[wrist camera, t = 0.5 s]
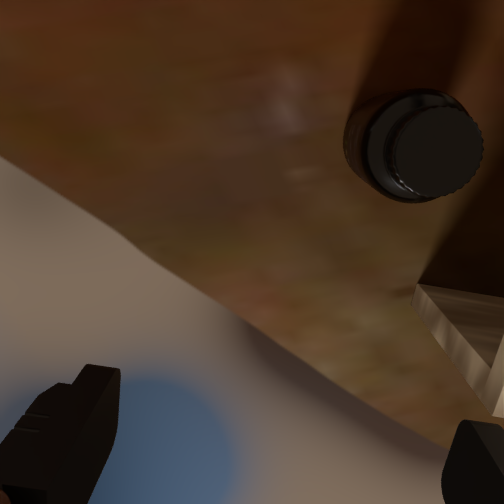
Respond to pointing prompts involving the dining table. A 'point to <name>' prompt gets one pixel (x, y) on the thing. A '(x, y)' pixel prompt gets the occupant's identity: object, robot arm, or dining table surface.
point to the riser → (468, 337)
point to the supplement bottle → (413, 144)
